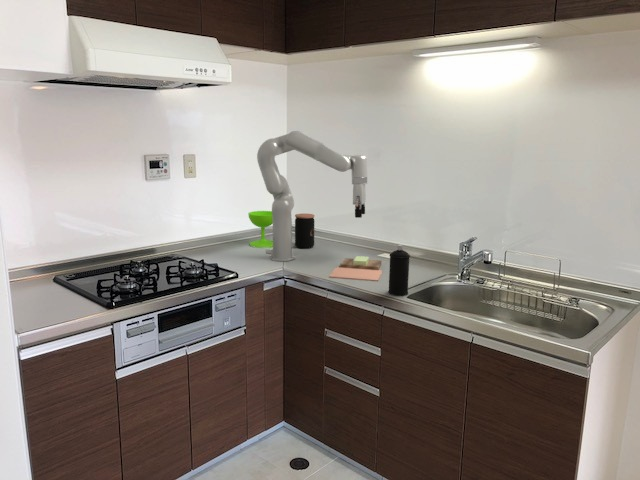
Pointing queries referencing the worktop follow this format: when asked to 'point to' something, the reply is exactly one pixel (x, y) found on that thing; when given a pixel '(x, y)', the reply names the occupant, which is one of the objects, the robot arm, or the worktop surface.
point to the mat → (356, 274)
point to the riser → (370, 265)
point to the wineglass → (262, 221)
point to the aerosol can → (399, 272)
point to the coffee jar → (304, 231)
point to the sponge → (360, 260)
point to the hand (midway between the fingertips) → (360, 215)
